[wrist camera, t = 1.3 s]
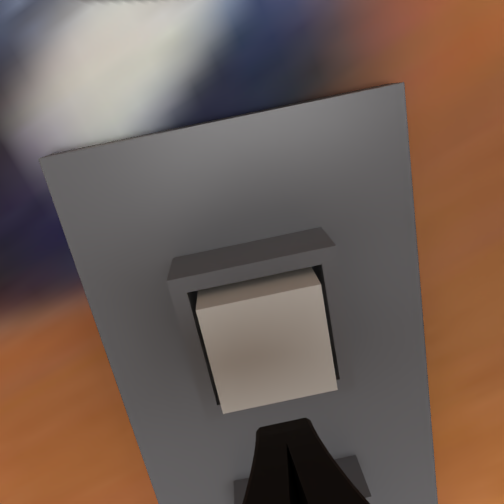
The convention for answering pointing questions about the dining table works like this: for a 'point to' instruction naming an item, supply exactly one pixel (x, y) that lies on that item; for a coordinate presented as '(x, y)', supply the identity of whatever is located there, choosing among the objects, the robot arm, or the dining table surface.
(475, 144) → the dining table surface
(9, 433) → the dining table surface
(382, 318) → the grey key base
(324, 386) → the white key
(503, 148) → the dining table surface
